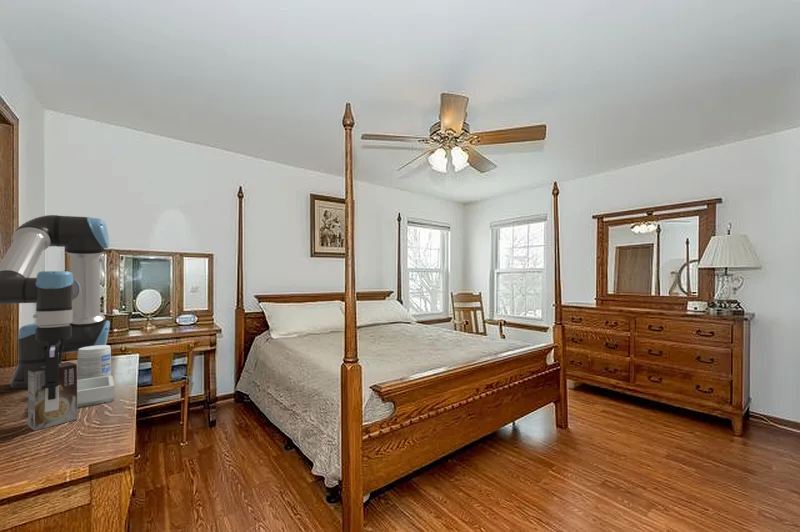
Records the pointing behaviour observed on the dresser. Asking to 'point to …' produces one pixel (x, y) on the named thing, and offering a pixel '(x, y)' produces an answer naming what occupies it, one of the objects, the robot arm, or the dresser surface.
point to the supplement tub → (94, 361)
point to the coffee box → (66, 397)
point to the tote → (95, 390)
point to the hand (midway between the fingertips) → (53, 406)
